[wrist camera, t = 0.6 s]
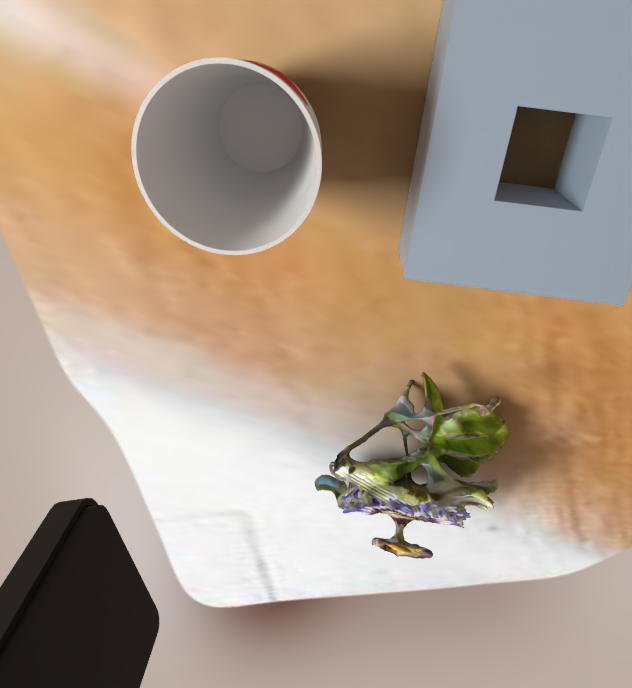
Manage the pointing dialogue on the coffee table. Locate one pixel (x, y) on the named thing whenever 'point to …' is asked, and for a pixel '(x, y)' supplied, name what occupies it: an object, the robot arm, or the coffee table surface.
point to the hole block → (492, 141)
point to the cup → (228, 155)
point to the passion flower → (434, 443)
